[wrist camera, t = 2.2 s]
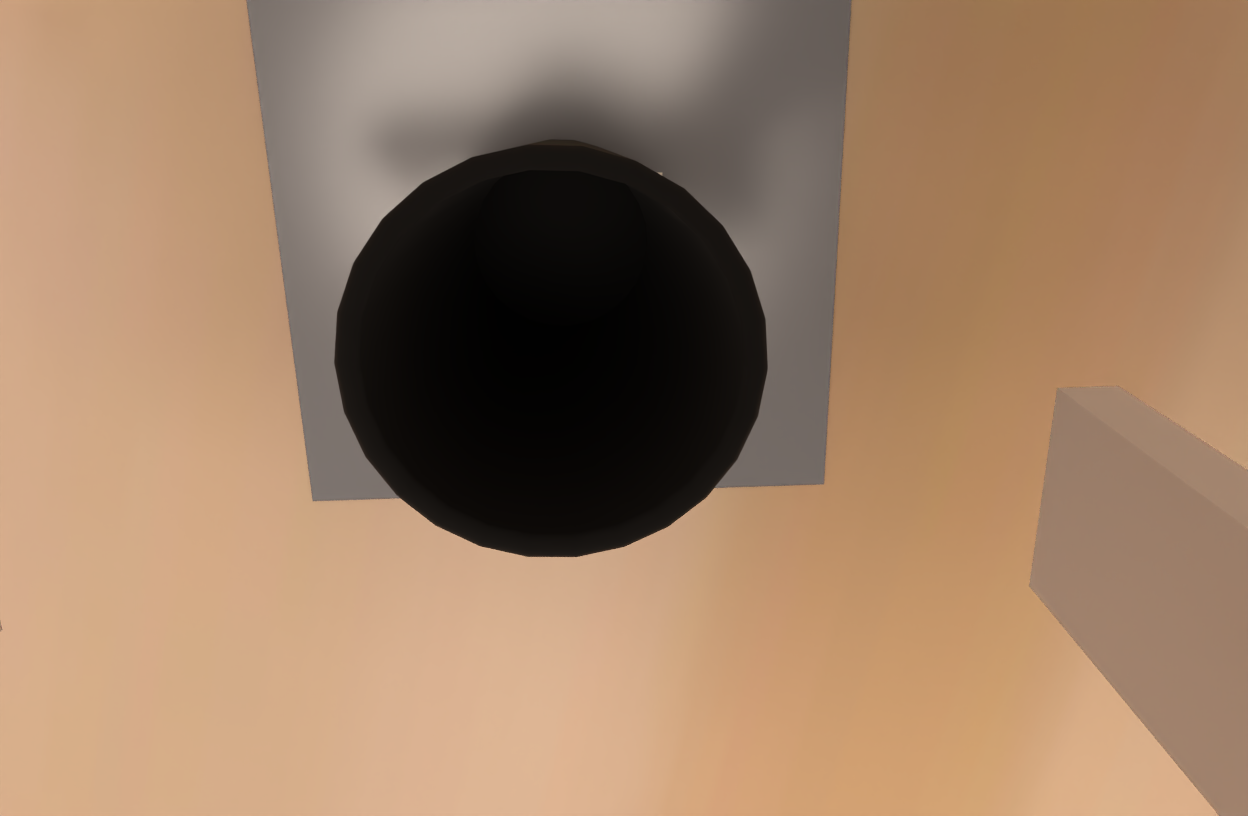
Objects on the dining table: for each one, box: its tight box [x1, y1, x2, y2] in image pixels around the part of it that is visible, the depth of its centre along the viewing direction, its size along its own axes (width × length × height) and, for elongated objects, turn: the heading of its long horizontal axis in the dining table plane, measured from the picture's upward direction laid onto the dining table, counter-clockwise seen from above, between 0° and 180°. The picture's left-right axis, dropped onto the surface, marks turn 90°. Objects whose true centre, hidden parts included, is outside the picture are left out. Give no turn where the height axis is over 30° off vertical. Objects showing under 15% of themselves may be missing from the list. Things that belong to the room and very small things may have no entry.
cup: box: [334, 139, 768, 557], centre depth 24 cm, size 8×8×12 cm
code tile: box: [247, 0, 851, 501], centre depth 30 cm, size 16×16×1 cm
